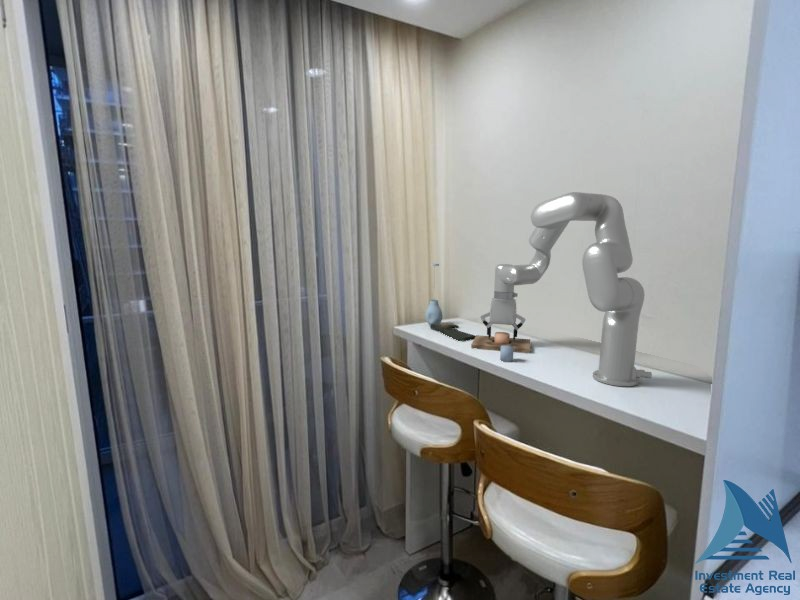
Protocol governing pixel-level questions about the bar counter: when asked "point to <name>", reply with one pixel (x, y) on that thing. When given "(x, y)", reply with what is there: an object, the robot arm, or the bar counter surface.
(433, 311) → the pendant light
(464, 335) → the firearm
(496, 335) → the tan rounded lump
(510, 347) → the blue-grey rounded cylinder
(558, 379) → the bar counter surface
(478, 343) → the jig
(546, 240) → the robot arm
